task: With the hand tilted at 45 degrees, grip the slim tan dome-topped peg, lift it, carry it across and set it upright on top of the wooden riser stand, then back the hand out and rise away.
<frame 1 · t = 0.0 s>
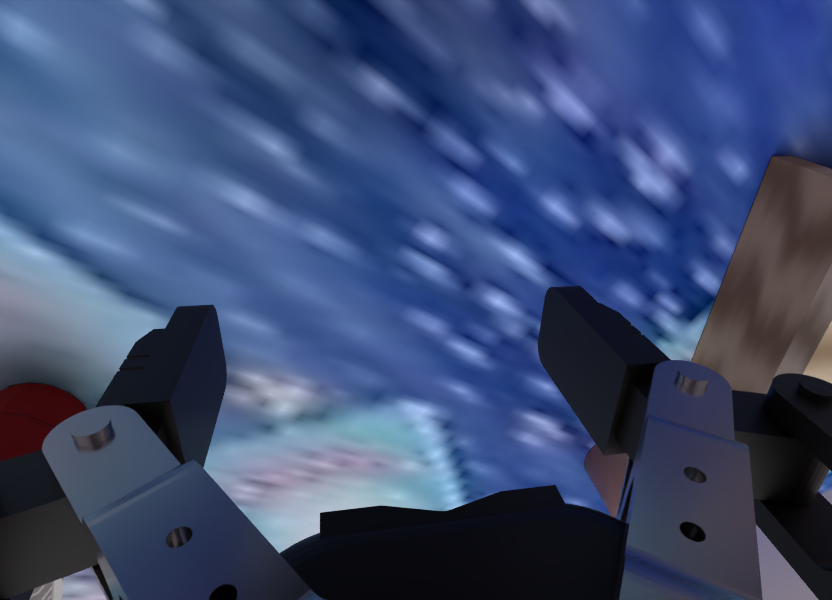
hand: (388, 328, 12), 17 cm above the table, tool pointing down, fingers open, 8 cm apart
plastic cup: (45, 412, 32), on the table
tan dome-topped peg: (613, 456, 44), on the table
wooden riser stand: (813, 289, 38), on the table
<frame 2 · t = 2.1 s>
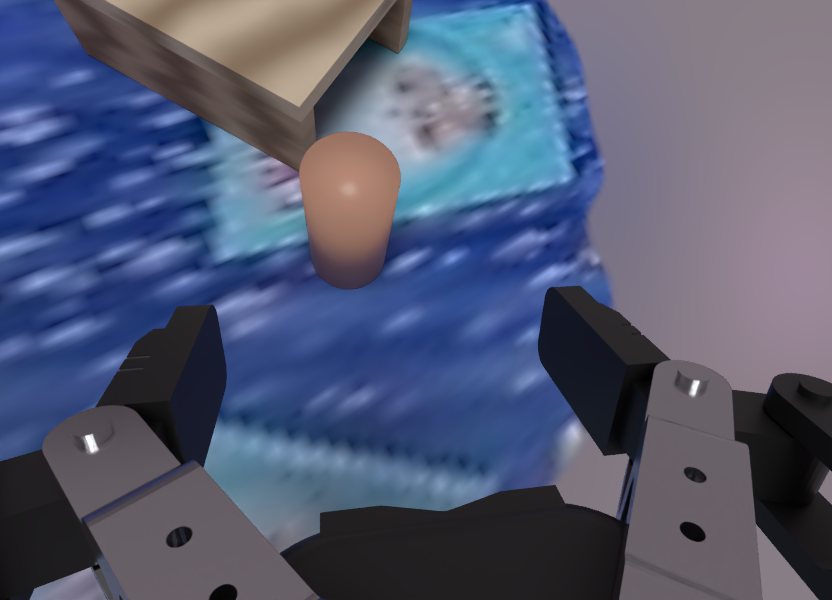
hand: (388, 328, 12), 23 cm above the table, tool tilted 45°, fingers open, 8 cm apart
tan dome-topped peg: (348, 254, 37), on the table
wooden riser stand: (255, 47, 42), on the table
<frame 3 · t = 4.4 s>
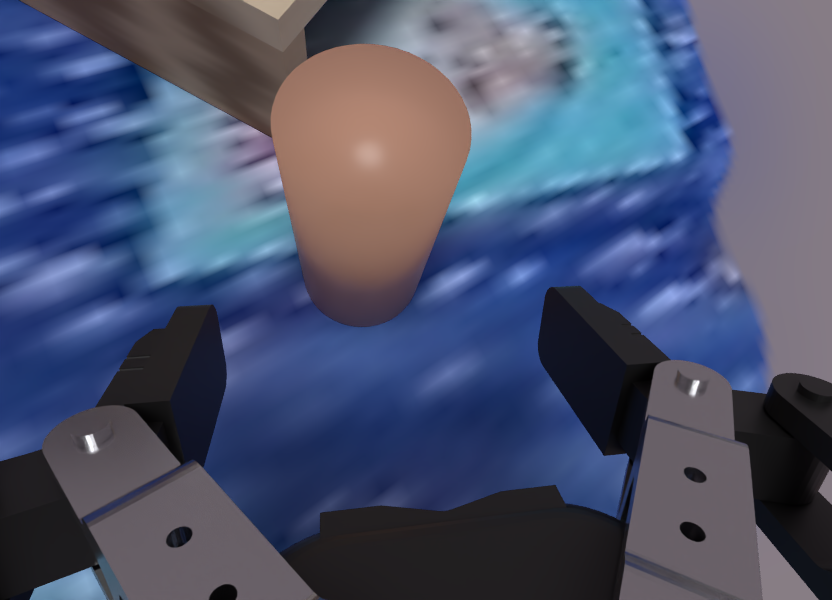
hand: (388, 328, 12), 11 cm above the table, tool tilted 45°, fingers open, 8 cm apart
tan dome-topped peg: (361, 272, 24), on the table
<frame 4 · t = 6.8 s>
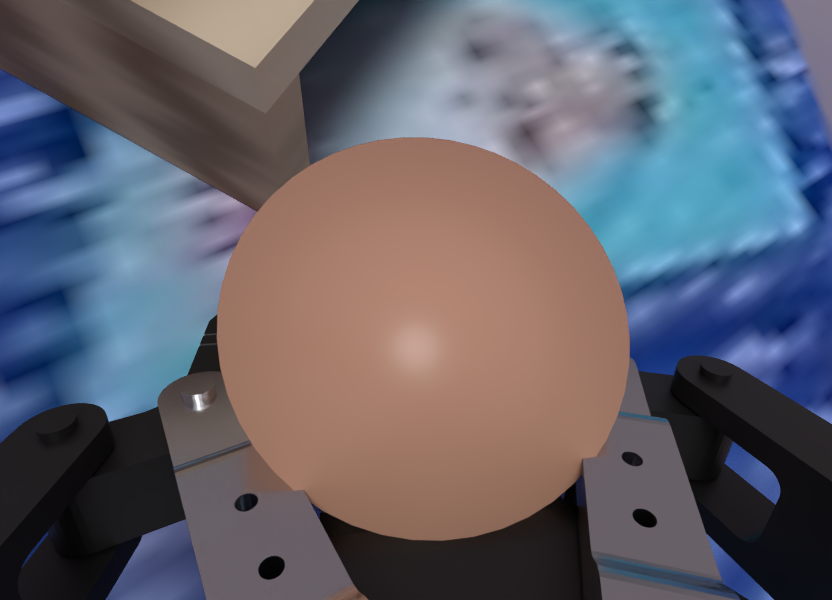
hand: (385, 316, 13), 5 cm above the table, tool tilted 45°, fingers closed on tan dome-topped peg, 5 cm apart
tan dome-topped peg: (379, 408, 17), on the table, touching gripper
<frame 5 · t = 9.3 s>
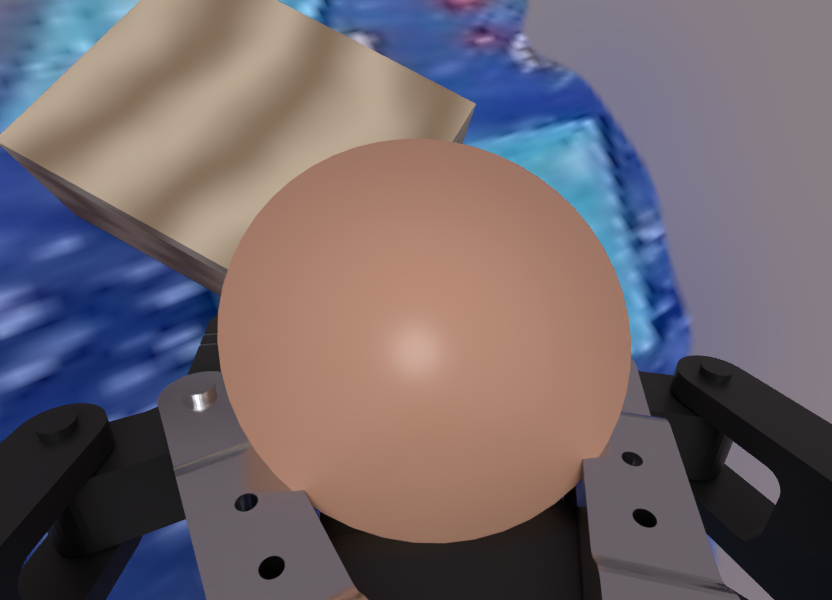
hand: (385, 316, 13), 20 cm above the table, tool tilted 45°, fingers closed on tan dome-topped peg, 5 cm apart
tan dome-topped peg: (380, 408, 17), point 15 cm above the table, touching gripper
wooden riser stand: (274, 194, 35), on the table
when the fingers open (14 cm above the table, at t = 12.3 s): tan dome-topped peg drops 1 cm, resting on wooden riser stand.
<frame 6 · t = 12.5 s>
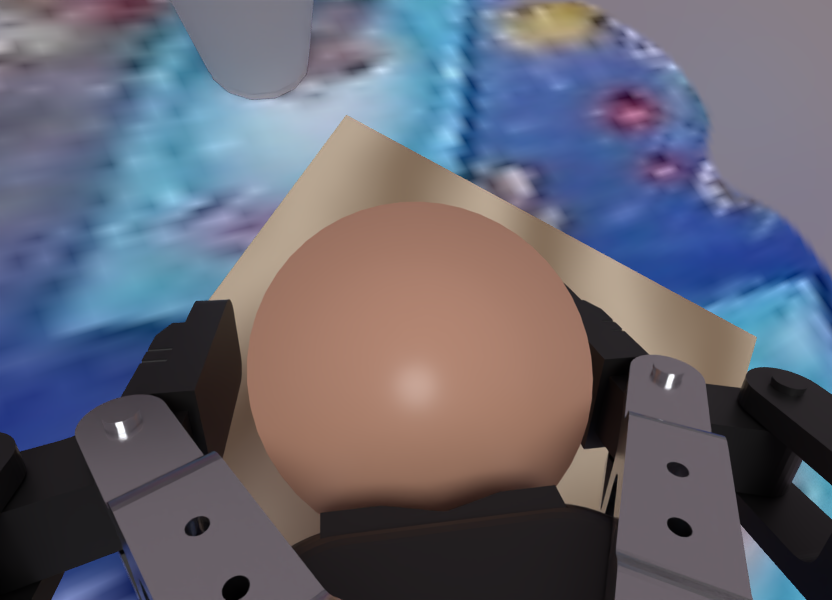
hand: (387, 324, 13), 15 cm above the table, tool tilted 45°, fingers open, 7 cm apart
foam cup: (259, 61, 32), on the table
tan dome-topped peg: (379, 414, 18), point 8 cm above the table, touching wooden riser stand
wooden riser stand: (432, 409, 27), on the table
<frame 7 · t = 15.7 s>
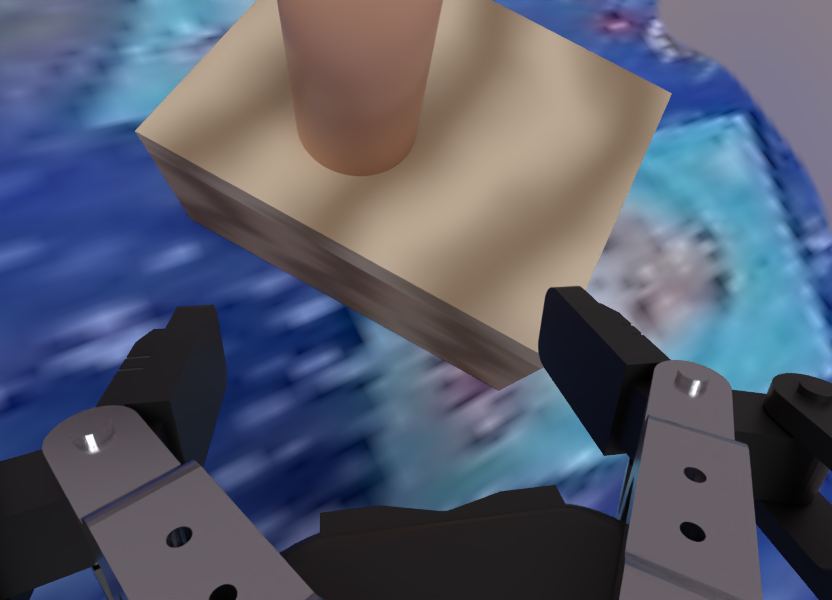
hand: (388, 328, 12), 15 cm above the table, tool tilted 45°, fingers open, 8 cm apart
tan dome-topped peg: (357, 124, 23), point 8 cm above the table, touching wooden riser stand
wooden riser stand: (409, 197, 31), on the table
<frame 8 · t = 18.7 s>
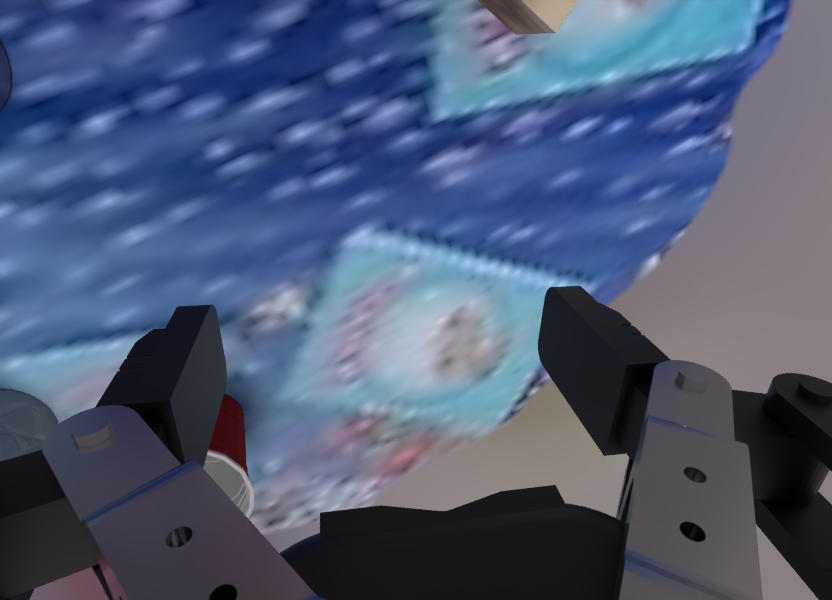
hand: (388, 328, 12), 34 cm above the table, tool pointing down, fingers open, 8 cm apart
drinking glass: (14, 422, 50), on the table
plastic cup: (214, 410, 53), on the table
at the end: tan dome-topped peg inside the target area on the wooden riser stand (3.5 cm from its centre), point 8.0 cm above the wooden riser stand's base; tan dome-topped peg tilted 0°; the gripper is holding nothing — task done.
